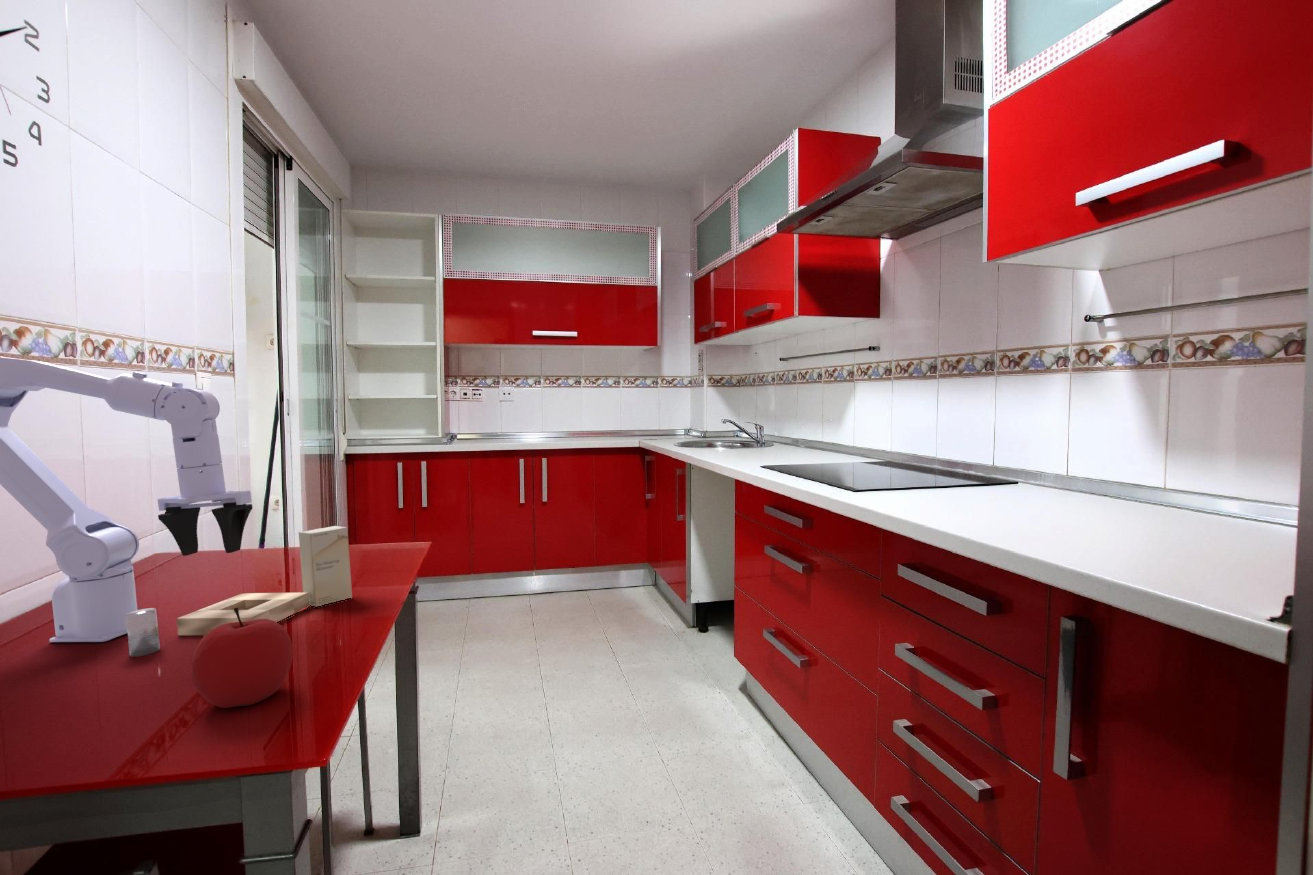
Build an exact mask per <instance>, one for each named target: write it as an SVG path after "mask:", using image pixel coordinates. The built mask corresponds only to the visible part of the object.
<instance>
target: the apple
mask: <svg viewBox="0 0 1313 875" xmlns="http://www.w3.org/2000/svg"><path fill="white" fill-rule="evenodd" d="M234 611H235V613H236V615H237V618H238V621H239V622H231V623H226V624H222V625H220V626H217V627H216V628H214V629H212V630H211V631H209V632H208V633H207V634H206V635H203V636H202V638H201V640H199V643H198V644H197V646H196V647H195V649H194V651H193V654H192V659H191V666H190V674H191V676H190V677H191V680H192V684H193V686H194V687H195V689H196V691H197V693H198V694H199V695H200V696H201V697H202V698H203V700H205V701H207V702H209V703H210V704H212V705H214V706H216V707H218V708H223V709H229V708H235V707H243V706H244V707H246V706H251V705H254V704H257V703H260V702H262V701H264V700H266V699H268V698H269V697H270V696H272V695H274V694H275V693H276V692H278V690H279V689H280V688H281V687H282V685H284V684H283V683H285V680H286V679H287V676H288V675H289V672H290V669H291V665H292V662H293V656H294V652H293V649H294V648H293V644H292V640H291V637H290V634H289V633H288V632H287V630H286V629H285V628H284V627H283V626H282V625H281V624H280V623H277V622H276V621H273V620H269V619H257V620H251V621H244V622H241V620H240V616H239V610H238V608H234Z"/></svg>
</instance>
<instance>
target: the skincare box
mask: <svg viewBox="0 0 1313 875" xmlns="http://www.w3.org/2000/svg"><path fill="white" fill-rule="evenodd" d="M298 540H299V541H298V544H299V553H300V554H299V557H300V559H299V560H300V568H301V581H302V582H301V584H302V593H303V592H309V603H310V605H311V606H321V605H324V604H328V603H331V602H336V601H339V600H345V599H347V598H351V599H352V598H353V588H352V587H353V586H352V575H351V574H352V573H351V563H350V550H349V548H350V547H349V535H348V527H347V526H339V525H332V526H327V527H320V528H315V529H310V530H305V531H298ZM345 601H346V600H345ZM311 606H310V607H311ZM321 607H322V606H321Z"/></svg>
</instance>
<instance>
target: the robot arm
mask: <svg viewBox="0 0 1313 875" xmlns="http://www.w3.org/2000/svg"><path fill="white" fill-rule="evenodd" d="M183 386H184V383H182V382H178V381H172V383H169V382H166V381H160V380H157V379H154V378H153V379H152V378H148V374H147V373H144V372H139V371H132V374H130V373H121V374H119V375H118V376H115V377H113V378H112V377H111V378H109V377H105V376H101V375H97V374H93V373H89V372H84V371H82V370H81V371H80V370H77V369H74V368H69V367H65V366H61V365H58V364H53V363H50V362H45V361H39V360H32V359H23V358H14V357H5V356H0V486H1V487H2V488H3V489H4V490H6V492H8V493H9V495H10V496H12V497H13V498H14V500H16V501H17V502H18V503H19V504H20V505H21V506H22V507H23V508H24V509H25V510H26V511H27V512H28V513H29V514H30V515H31V516H32V517H33V518H35V520H36V521H37V522H38V523H40V525H42V527H43V528H44V529H45V530H46V531H47V535H46V541H45V546H46V547H47V548H49V550H50V551H51V552H52V553H53V555H54V557H55V562H56V565H57V566H58V568H59V570H60V571H61V572H62V573H63V574H65V575H66V576H68V577H67V578H65V579H63V580H61V581H60V582H58V584H57V585H56V587H55V588H54V590H53V592H52V595H51V603H52V604H51V605H52V612H53V622H54V632H55V636H53V637H51V638H49V643H102V642H103V643H104V642H107V641H111V640H113V639H115V638H117V637H121V636H123V635H126V634H127V624H126V614H127V613H130V612H133V611H136V610H138V604H137V602H138V600H137V594H136V582H135V574H134V573H135V572H134V565H133V562H132V560H133V558H134V557H135V556H136V555H137V554H138V550H139V548H140V540H139V538H138V535H137V534H136V533H135V531H133V530H132V529H131V528H129V527H127V526H124V525H121V524H119V523H117V522H115V521H114V519H113V520H112V518H111V517H110V516H108V515H106V514H104V513H102V512H100V511H97V510H95V509H92V508H90V507H89V506H88V505H87V504H86V503H85V502H84V501H83V500H82V499H81V498H80V497H79V496H78V495H77V494H76V493H75V492H74V491H73V490H71V488H70V487H69V486H68V484H66V483H65V482H64V481H63V480H62V479H61V478H60V477H59V476H58V475H57V474H56V473H55V472H54V471H53V470H52V469H51V468H50V467H49V466H48V465H47V464H46V463H45V462H44V461H43V460H42V459H41V458H40V457H39V456H38V455H37V454H36V453H35V452H34V451H33V450H32V449H31V448H30V447H29V445H27V444H26V443H25V442H24V441H23V440H22V439H21V437H19V436H18V435H17V433H15V432H14V431H13V430H12V429H11V428H10V426H9V422H10V420H11V416H12V414H13V412H14V411H15V410H16V408H18V406H19V405H20V403H21V402H22V401H23V400H24V399H25V397H26V396H27V394H28V393H29V391H30V392H38V391H41V390H43V389H51V390H57V391H61V392H67V393H72V394H77V395H83V396H88V397H93V398H99V399H103V400H104V401H105V402H106V403H107V405H108V406H109V407H110V408H111V410H114V411H117V412H121V413H125V414H129V415H136V416H141V417H143V418H144V417H145V418H149V419H154V420H159V421H166V422H167V423H168V424H170V426H171V433H172V443H173V444H172V445H173V450H174V451H173V452H174V457H175V458H174V459H175V465H176V473H177V480H178V486H179V487H178V488H179V495H172V496H166V497H160V498H157V504H158V512H161V511H162V512H163V511H164V513H161V514H158V515H157V518H158V520H159V521H160V522H161V523H162V525H164V527H165V528H167V529H168V531H169V532H170V534H171V535H172V537H173V538H174V540H175V542H176V544H177V546H178V549H179V550H180V553H181V555H182V557H183V556H184V557H186V556H191V555H194V554H198V551H199V539H198V521H199V515H200V511H201V508H207V507H217V508H213V509H211V513H212V514H213V517H214V518H215V520H216V522H217V524H218V526H219V530H220V534H221V538H222V543H223V548H224V550H225V553H226V554H232V553H235V552H238V551H241V548H242V540H243V535H244V530H245V526H246V522H247V521H248V518H249V516H250V514H251V512H252V510H253V504H252V502H253V501H252V494H251V490H226V484H225V483H226V482H225V476H224V469H223V459H222V454H221V446H220V437H219V434H218V429H217V428H218V427H217V426H218V425H217V421H216V419H217V418H218V416H219V415H220V410H221V408H220V407H221V406H220V405H221V404H220V403H219V400H218V399H217V398H216V396H215V395H213V394H212V393H210V391H209V392H208V391H206V390H204V389H202V388H185V387H183ZM209 501H211V502H209ZM199 502H200V503H199ZM201 502H202V503H201ZM204 502H205V503H204ZM221 506H222V507H221Z"/></svg>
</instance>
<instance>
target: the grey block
mask: <svg viewBox="0 0 1313 875" xmlns="http://www.w3.org/2000/svg"><path fill="white" fill-rule="evenodd" d="M126 624H127V633H126V634H127V640H128V641H127V643H128V651H129V657H133V658H134V657H135V658H136V657H141V656H146V655H150V654H153V653H156V652H158V651H160V650H161V645H160V636H159V635H160V634H159V624H158V616H157V608H155V607H149V608H142V609H137V610H136V611H133V612H130V613H127V614H126Z"/></svg>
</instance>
